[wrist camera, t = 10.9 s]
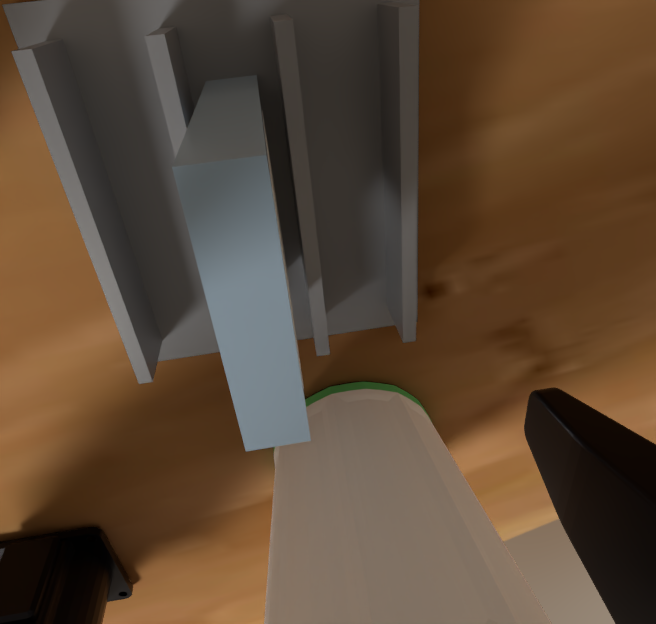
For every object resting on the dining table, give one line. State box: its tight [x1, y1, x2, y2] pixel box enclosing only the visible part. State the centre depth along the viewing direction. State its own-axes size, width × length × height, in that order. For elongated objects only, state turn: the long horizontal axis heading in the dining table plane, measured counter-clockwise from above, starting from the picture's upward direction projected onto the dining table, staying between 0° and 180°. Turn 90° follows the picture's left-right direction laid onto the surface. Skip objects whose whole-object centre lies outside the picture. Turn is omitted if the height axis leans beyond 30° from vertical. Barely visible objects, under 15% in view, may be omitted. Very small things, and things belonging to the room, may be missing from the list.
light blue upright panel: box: [172, 75, 311, 451], centre depth 14 cm, size 7×2×9 cm, turn 5°
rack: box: [2, 0, 419, 384], centre depth 18 cm, size 13×12×4 cm
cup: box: [264, 382, 552, 624], centre depth 21 cm, size 12×12×15 cm
